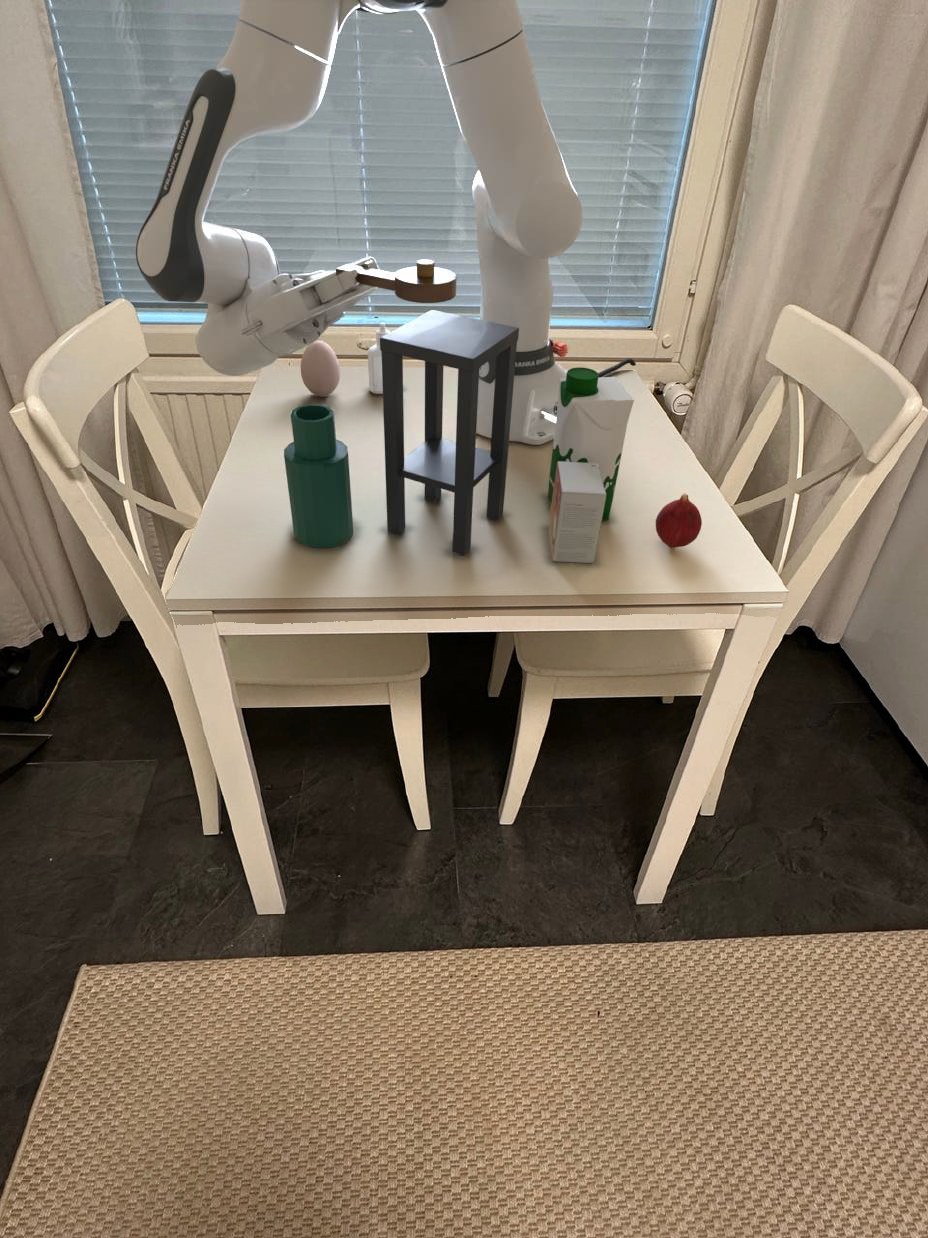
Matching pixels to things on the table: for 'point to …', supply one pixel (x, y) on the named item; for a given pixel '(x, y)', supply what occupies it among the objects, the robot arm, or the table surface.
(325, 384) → the egg
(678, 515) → the onion
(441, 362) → the stand
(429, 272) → the lid
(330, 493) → the bottle
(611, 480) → the milk carton
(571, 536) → the small box
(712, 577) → the table surface
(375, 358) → the white tall narrow container
